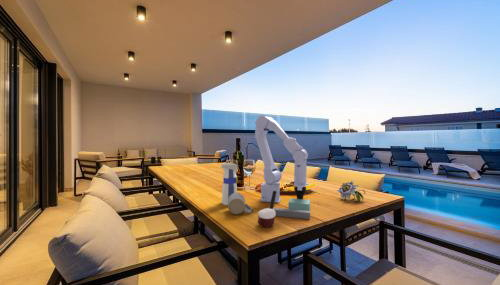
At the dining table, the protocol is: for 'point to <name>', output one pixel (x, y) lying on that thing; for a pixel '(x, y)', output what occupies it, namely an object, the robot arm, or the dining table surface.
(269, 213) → the cocoa
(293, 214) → the gray bar
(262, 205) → the dining table surface
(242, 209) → the ceramic mug
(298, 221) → the dining table surface
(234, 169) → the water bottle
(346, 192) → the passion flower
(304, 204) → the block
